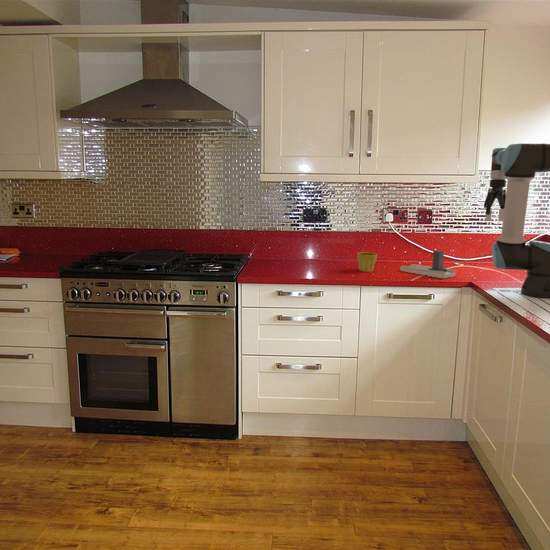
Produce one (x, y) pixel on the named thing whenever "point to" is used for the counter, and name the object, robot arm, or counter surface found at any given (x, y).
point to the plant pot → (366, 261)
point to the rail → (428, 271)
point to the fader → (438, 261)
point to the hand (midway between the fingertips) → (494, 221)
